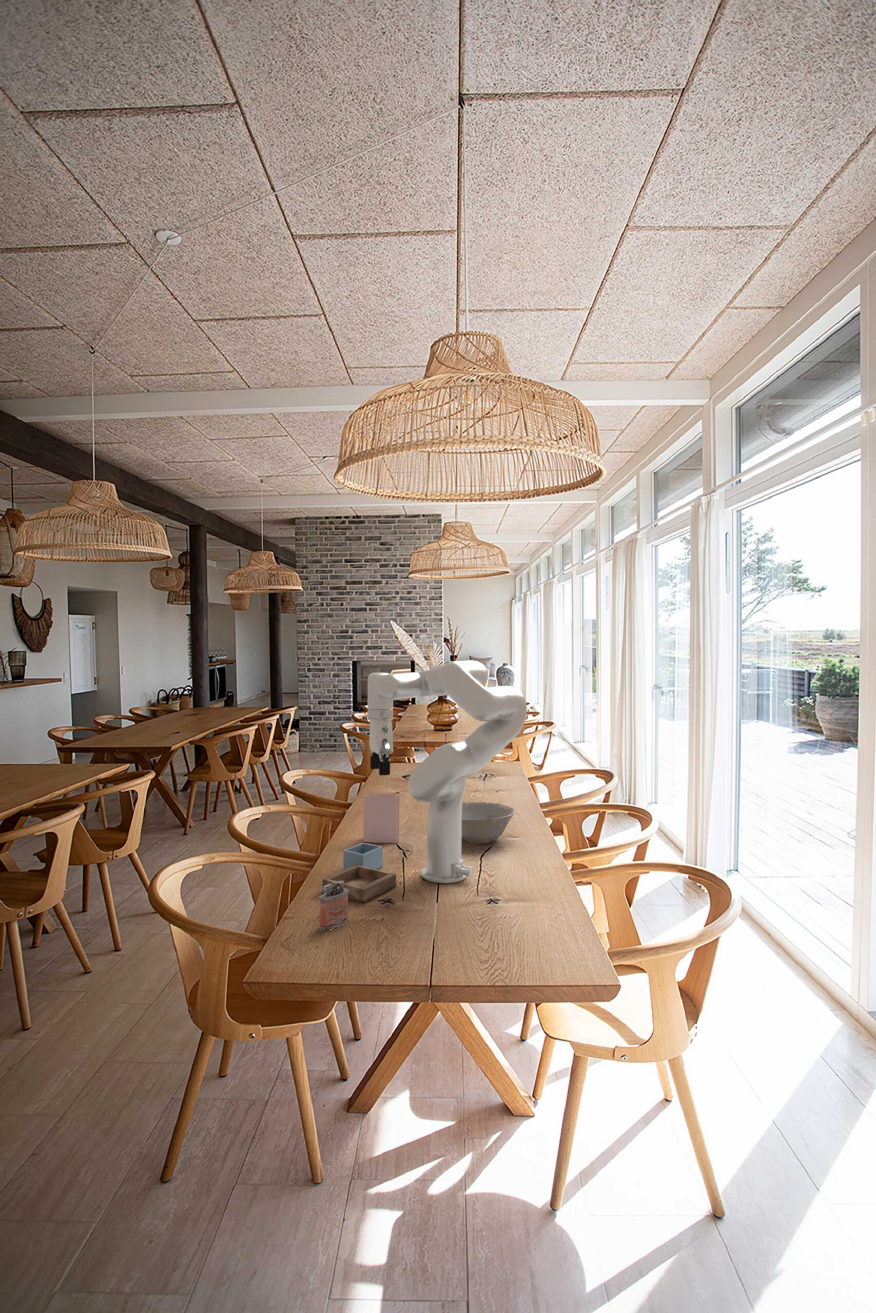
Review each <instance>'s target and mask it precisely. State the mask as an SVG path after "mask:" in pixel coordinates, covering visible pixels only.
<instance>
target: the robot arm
mask: <svg viewBox="0 0 876 1313" xmlns="http://www.w3.org/2000/svg"><path fill="white" fill-rule="evenodd" d="M488 678H489V673H488V670H487V668H486V666H485V665H484V664H483V663H481V662H479V661H477V660H473V659H469V660H467V659H466V660H454V661H453V660H452V661H449V662H446V663H445V664H444V663H443V664H438V665H433V666H432V667H430V668H429V670H427V669H426V670H421V671H413V672H411V671H410V672H399V673H398V672H397V673H396V672H395V673H389V672H371V673H370V674H369V675H368V677H367V720H368V721H369V749H370V754H369V755H370V756H369V760H370V762H369V763H370V765H369V767H370V770H378V775H379V776H390V774H391V754H393V752H394V739H393V738H394V736H393V735H394V734H393V723H392V721H393V720H394V701H396V700H404V699H414V698H421V697H430V696H436V697H441V696H442V697H443V696H448V697H449V698H450V699H451V700H452V701H454V702H455V704H456V705H458V706H459V707H460V708H461V709H462V710H463V711H464V712H466V714H468V715H469V716H470V718H473V719H474V720H476V721H479V722H484V723H482V724H480V725H479V726H478V727H477V728H476V729H475V730H474V731H473V732H472V733H470V735H468V736H467V737H465V738H464V739H462V740H458V741H453V742H449V743H445V744H442V745H441V746H439V747H437V748H436V749H434V750H433V751H432V752H431V753H430V754H429V755H428V756H426V758H424V759H423V760H422V761H421V762H420V763H419V764H418V765H417V766H416V767H415V768H414V769H413V771H411V773H410V775H409V778H408V782H407V789H408V792H409V794H410V797H412V798H413V799H414V800H415V801H417V802H420V803H422V804H423V803H426V804H427V803H428V807H427V816H426V819H427V821H426V822H427V823H426V825H427V828H426V829H427V831H426V832H427V833H426V845H427V846H426V849H427V850H426V867H424V868H422V869H421V871H420V872H421V873H420V874H421V875H420V876H421V877H422V879H424V880H425V881H428V882H432V883H438V884H453V883H459V882H462V881H464V880H465V879H466V878H467V877H473V873H474V868H473V867H472V866H469V865H466V859H462V840H463V838H462V803H463V802H464V795H465V791H466V790H465V789H466V783H467V782H466V781H467V779H466V778H467V777H471V776H473V775H476V774H477V773H478V772H479V771H481V770H482V769H483V768H484V767H485V766H486V765H487V764H488V763H489V762H490V761H491V760H492V759H494V758H495V757H496V756H497V755H498V754H499V753H500V752H501V751H502V750H503V749H505V748H506V747H507V746H508V745H509V744H510V743H511V742H512V741H513V740H514V739H515V738H516V737H517V736H518V735H519V733H520V732H521V731H522V729H523V727H524V725H525V722H526V718H527V711H528V709H527V701H526V697H525V696H524V694H523V693H522V691H520V689H518V688H516V687H514V686H509V685H498V686H489V687H485V685H487V682H488Z"/></svg>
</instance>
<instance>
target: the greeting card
mask: <svg viewBox="0 0 876 1313" xmlns="http://www.w3.org/2000/svg"><path fill="white" fill-rule="evenodd" d="M362 819H363V821H362V822H363V827H362V828H363V830H362V831H363V832H362V833H363V835H362V836H363V837H362V838H363V842H374V843H381V844H383V843H385V844H386V843H387V844H388V843H389V844H390V843H391V844H393V843H395V844H396V843H397V844H399V843H400V795H394V794H389V793H384V792H377V791H371V795H363V818H362ZM363 842H362V843H363Z"/></svg>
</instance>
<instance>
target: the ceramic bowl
mask: <svg viewBox="0 0 876 1313" xmlns="http://www.w3.org/2000/svg"><path fill="white" fill-rule="evenodd" d="M514 815H515V808H513V807H511V806H508V805H506V804H503V803H498V802H489V801H487V802H486V801H479V802H477V801H471V802H470V801H469V802H466V801H465V802H464V801H463V803H462V839H463V840H465V841H467V842H468V843H470V844H473V845H486V844H488V843H491V842H493V841H495V840H497V839H499V838H500V837H501V835H502V834H503V833H504V832H505V829H506V828H507V825H508V823H509V822H510V821H511V819H512V818H513V816H514Z"/></svg>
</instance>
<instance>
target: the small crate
mask: <svg viewBox="0 0 876 1313" xmlns="http://www.w3.org/2000/svg"><path fill="white" fill-rule="evenodd" d="M383 850H384V849H383V845H382V846H381V845H377V844H373V843H372V844H371V843H363V842H361V843H359V844H356V845H354V846H351V847H349V848H346V849H343V851H342V854H343V856H342V857H343V858H342V860H343V861H342V862H343V865H342V867H343V868H342V869H343V870H345V869H347V868H349V867H351V866H354V865H359V866H363V867H368V868H372V869H377V870H380V869H383V862H384V861H383V859H384V858H383V854H384V853H383V852H384V851H383Z"/></svg>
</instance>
